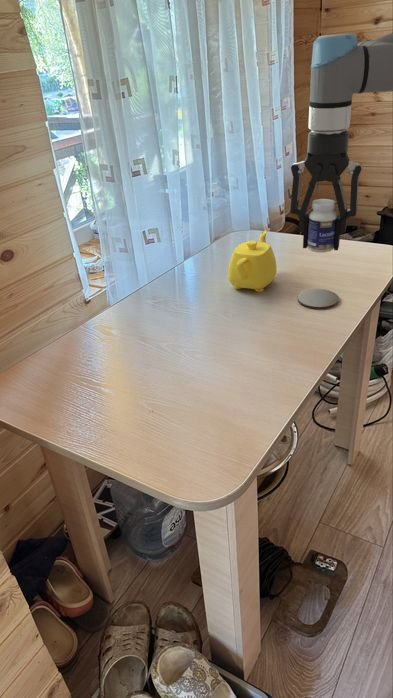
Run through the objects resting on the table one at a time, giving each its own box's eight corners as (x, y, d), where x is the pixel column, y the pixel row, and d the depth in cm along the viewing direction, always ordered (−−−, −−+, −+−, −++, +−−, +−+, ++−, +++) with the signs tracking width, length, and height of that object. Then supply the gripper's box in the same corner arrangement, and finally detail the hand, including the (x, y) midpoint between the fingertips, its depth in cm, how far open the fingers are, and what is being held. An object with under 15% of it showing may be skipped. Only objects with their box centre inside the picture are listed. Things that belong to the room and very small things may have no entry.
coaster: (340, 292, 118) (340, 290, 118) (336, 311, 111) (336, 308, 110) (301, 289, 121) (301, 287, 120) (294, 307, 114) (294, 304, 113)
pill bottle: (321, 255, 106) (324, 207, 100) (301, 248, 110) (303, 201, 105) (340, 248, 108) (344, 201, 103) (320, 241, 112) (323, 196, 107)
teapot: (245, 265, 135) (244, 226, 129) (286, 270, 130) (287, 229, 124) (218, 295, 121) (215, 252, 115) (262, 302, 117) (262, 257, 111)
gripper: (382, 126, 97) (368, 243, 109) (283, 127, 103) (280, 238, 115) (380, 133, 91) (365, 256, 103) (275, 134, 97) (273, 250, 109)
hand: (321, 246), depth 109 cm, fingers closed on pill bottle, 6 cm apart
